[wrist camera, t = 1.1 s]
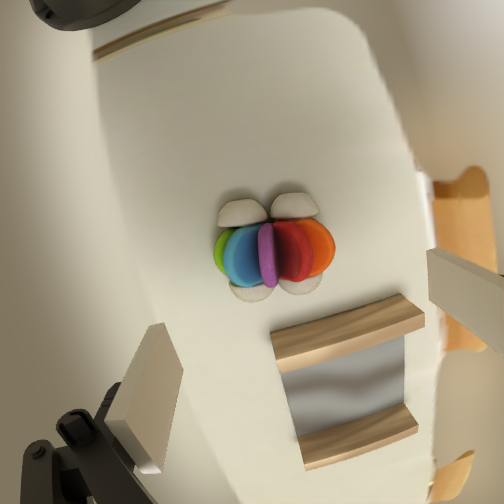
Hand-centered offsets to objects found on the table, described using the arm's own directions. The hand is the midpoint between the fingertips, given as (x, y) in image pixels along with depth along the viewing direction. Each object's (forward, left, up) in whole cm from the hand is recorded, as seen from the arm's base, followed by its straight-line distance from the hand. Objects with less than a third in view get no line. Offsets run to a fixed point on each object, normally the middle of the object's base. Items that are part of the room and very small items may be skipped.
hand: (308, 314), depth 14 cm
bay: (+17, +5, -14) cm, 23 cm away
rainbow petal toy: (0, 0, -15) cm, 15 cm away
